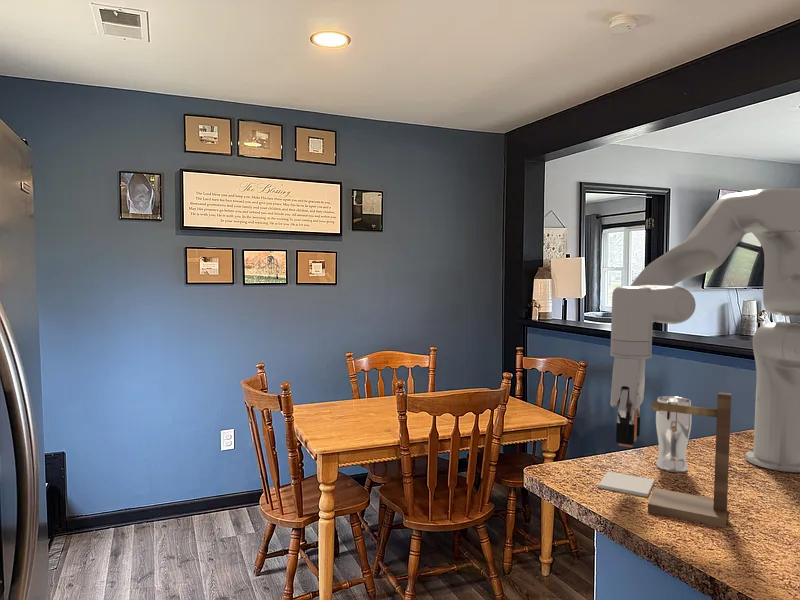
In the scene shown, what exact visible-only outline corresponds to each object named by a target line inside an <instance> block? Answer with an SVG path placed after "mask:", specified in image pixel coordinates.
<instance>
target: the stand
mask: <svg viewBox="0 0 800 600" xmlns="http://www.w3.org/2000/svg"><path fill="white" fill-rule="evenodd" d="M716 399H717V400H716V401H717V402H716V408H708V407H700V406H699V407H698V406H692V405H691V406H684V405H676V404H667V403H660V402H658V400H654V401H653V402H652V403H651V409H652V410H653V411H654V412H656V411H668V412H676V413H684V414H691V416H692V415H693V416H702V417H709V418H710V417H711V418H716V426H715V427H716V429H715V430H716V432H715V433H716V434H715V454H714V455H715V458H714V481H713V482H714V484H713V487H714V488H713V498H712V497H707V496H700V495H696V494H690V493H687V492H686V493H684V492H681V491H680V492H679V491H675V490H674V491H673V490H669V489H664V488H660V487H659V488H658V487H654V489H653V492H652V493H651V495H650V498H649V500H648V503H647V513H651V514H654V515H659V516H665V517H671V518H675V519H680V520H685V521H689V522H695V523H700V524H704V525H709V526H714V527H720V528H724V529H726V527H727V517H728V516H727V515H728V495H729V494H728V491H729V489H728V488H729V467H730V466H729V465H730V464H729V463H730V461H729V460H730V437H731V411H732V393H731V392H728V393H727V392H720V391H719V392H717V398H716Z"/></svg>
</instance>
